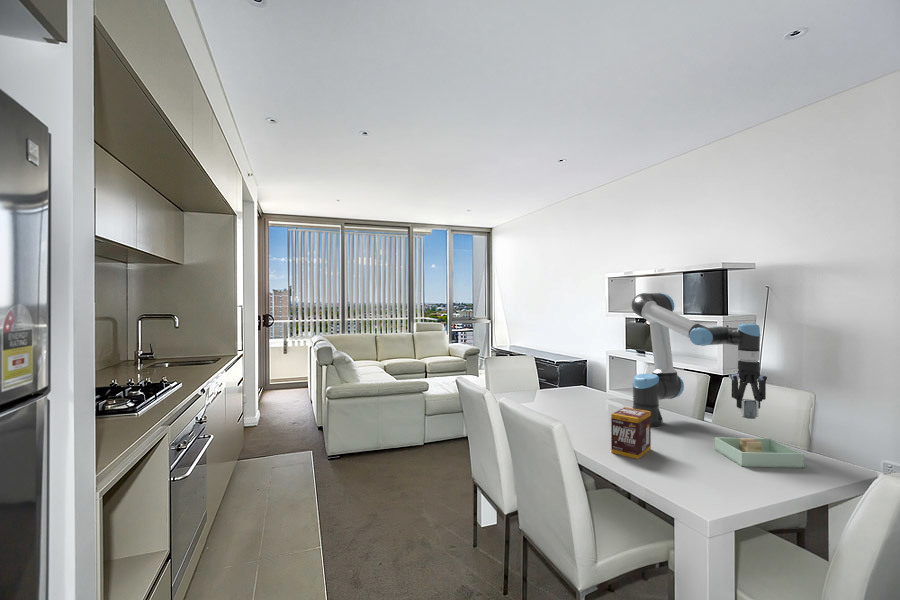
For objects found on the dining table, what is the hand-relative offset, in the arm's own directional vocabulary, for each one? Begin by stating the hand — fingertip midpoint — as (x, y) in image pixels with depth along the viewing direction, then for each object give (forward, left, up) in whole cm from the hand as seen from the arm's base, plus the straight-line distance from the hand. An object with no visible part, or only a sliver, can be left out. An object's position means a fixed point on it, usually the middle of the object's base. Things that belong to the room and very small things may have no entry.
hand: (748, 415), depth 176 cm
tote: (+16, -7, -12) cm, 21 cm away
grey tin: (0, 0, -1) cm, 0 cm away
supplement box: (+11, -52, -12) cm, 54 cm away
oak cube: (+13, -7, -11) cm, 18 cm away
